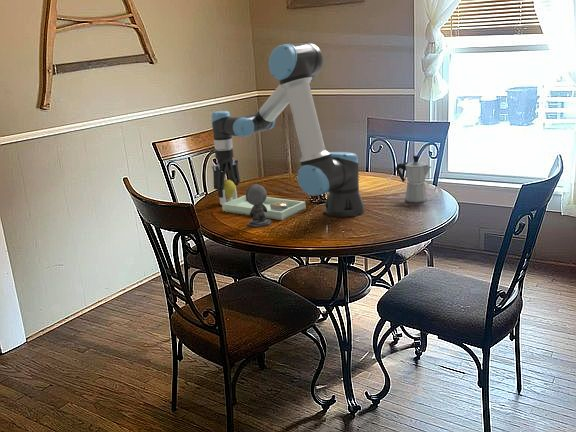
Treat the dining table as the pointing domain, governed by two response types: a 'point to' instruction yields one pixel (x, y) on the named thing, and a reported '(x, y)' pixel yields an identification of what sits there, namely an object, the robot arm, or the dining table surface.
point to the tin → (279, 206)
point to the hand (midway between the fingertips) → (228, 202)
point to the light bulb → (229, 189)
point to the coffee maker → (414, 180)
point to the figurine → (257, 206)
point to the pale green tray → (245, 207)
